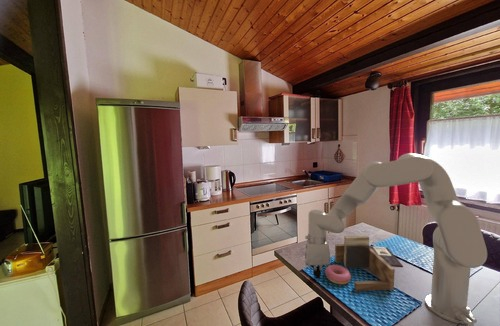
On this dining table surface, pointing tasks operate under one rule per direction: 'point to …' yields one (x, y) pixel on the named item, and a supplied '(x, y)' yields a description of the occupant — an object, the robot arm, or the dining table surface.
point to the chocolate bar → (387, 256)
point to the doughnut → (337, 274)
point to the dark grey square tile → (357, 256)
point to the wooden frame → (375, 264)
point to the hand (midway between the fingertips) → (317, 276)
